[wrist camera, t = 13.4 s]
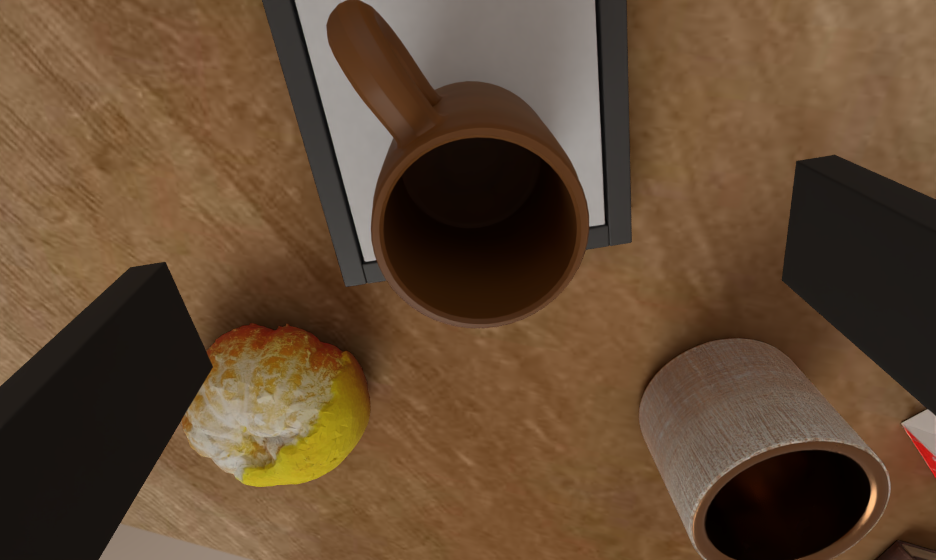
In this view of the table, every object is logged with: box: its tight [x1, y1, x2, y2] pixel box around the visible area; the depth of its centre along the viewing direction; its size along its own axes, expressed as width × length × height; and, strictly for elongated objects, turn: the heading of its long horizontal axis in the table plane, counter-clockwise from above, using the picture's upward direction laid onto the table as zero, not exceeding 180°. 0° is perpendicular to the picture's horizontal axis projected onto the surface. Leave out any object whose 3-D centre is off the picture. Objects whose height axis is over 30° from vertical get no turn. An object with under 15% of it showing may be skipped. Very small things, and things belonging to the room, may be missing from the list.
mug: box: [326, 0, 589, 328], centre depth 22 cm, size 12×8×9 cm, turn 32°
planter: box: [639, 338, 890, 560], centre depth 35 cm, size 11×11×10 cm
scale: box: [262, 0, 632, 287], centre depth 28 cm, size 16×16×3 cm
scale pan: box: [295, 0, 605, 262], centre depth 27 cm, size 13×13×2 cm
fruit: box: [182, 323, 370, 487], centre depth 34 cm, size 11×10×8 cm
